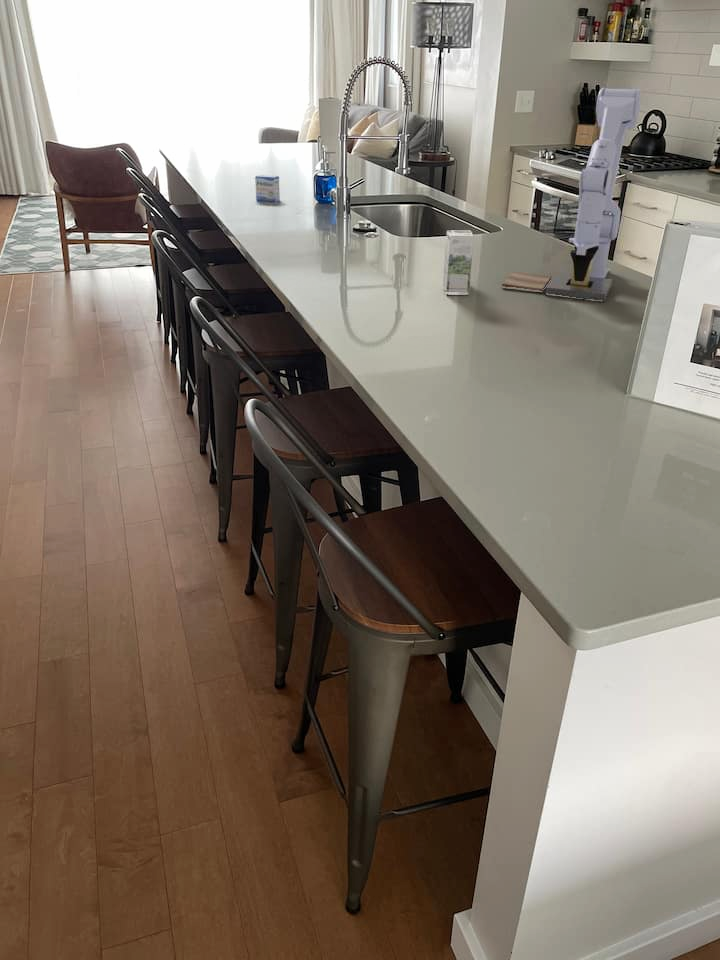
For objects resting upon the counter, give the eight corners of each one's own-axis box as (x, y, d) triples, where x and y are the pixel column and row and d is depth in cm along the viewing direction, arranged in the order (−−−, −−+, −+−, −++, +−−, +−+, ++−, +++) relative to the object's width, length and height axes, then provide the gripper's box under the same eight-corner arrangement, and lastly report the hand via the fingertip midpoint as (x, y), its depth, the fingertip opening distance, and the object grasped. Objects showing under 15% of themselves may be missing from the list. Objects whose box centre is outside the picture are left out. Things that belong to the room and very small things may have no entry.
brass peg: (571, 288, 196) (576, 256, 192) (588, 290, 195) (593, 257, 191) (569, 292, 193) (573, 259, 189) (585, 294, 192) (590, 261, 188)
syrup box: (465, 289, 195) (470, 229, 188) (469, 296, 190) (474, 234, 183) (442, 289, 195) (446, 229, 188) (445, 296, 190) (449, 234, 182)
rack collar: (555, 281, 202) (556, 273, 201) (611, 287, 198) (612, 279, 197) (544, 295, 191) (545, 287, 190) (604, 302, 186) (605, 294, 185)
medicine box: (255, 200, 293) (254, 176, 289) (260, 198, 297) (259, 174, 293) (275, 202, 291) (274, 177, 287) (280, 200, 295) (279, 175, 291)
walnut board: (512, 276, 205) (512, 272, 205) (550, 281, 202) (551, 276, 201) (501, 288, 196) (502, 283, 195) (541, 293, 192) (542, 288, 192)
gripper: (576, 214, 193) (568, 269, 200) (566, 225, 181) (558, 284, 188) (606, 216, 191) (597, 272, 197) (598, 228, 179) (589, 287, 186)
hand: (580, 278), depth 193 cm, fingers closed on brass peg, 4 cm apart
